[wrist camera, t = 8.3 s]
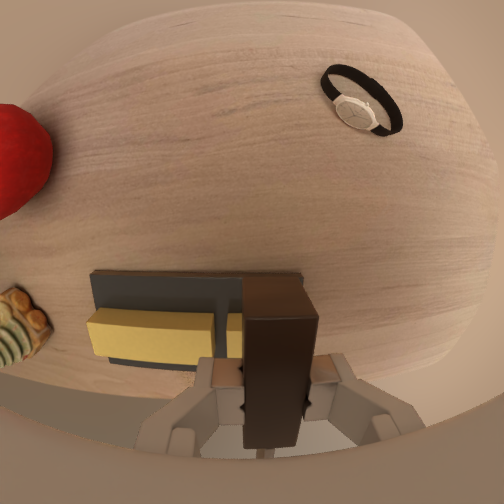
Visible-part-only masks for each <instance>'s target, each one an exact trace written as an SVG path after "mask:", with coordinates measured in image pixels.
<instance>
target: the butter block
mask: <svg viewBox="0 0 504 504" xmlns="http://www.w3.org/2000/svg"><path fill="white" fill-rule="evenodd" d="M86 324H87V328H88V332H89V335H90V339H91V342H92V346H93V349H94V352H95V355H99V356H106V357H113V358H120V359H128V360H137V361H147V362H158V363H171V364H186V365H198V360H199V358H200V357H214V354H215V346H216V345H215V327H214V313H187V312H161V311H142V310H126V309H113V308H99V309H98V310H97V311H96V312H95V313H94V314H93V315H92V316H91V317H90V319H89V320H88V321H87V322H86Z"/></svg>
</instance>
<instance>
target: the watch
mask: <svg viewBox="0 0 504 504" xmlns="http://www.w3.org/2000/svg"><path fill="white" fill-rule="evenodd" d="M328 74H339V75H343V76H345V77H348V78H350V79H351V80H353V81H355V82H356V83H358V84H359V85H360V86H362V87H363V88H364V89H366V90H367V91H368V92H369V93H370V94H371V95H372V96H373V97H374V98H375V99H377V100H378V101H379V102H380V103H381V105H382V106H383V107H384V108H385V110H386V111H387V113H388V115H389V117H390V121H391V131H389V130H387V129H386V128H384V127H383V126H381V125H380V124H379V123H378V122H377V121H376V118H375V115H374V112H373V111H372V109H371V108H370V107H369V105H370V104H369V103H368V102H367V103H364V102H362V101H360V100H359V99H357V98H353V97H348V96H344V95H343V94H341V93H340V92H339V91H338V90H337V89H336V88H335V87H334V86H333V85H332V83H331V82H330V80H329V78H328ZM321 87H322V89H323V91H324V93H325V94H326V95H327V96H328V98H329V99H330V100H332V101H333V104H335V105H336V111H337V113H338V115H339V116H340V118H341V119H342V120H343V121H345V122H346V123H347V124H349V125H350V126H352V127H355V128H358V129H362V130H364V129H367V130H368V131H369V130H370V131H371V132H373V133H374V134H376V135H379V136H382V137H385V136H388V135H392V134H395V133H398V132H400V131H401V129H402V127H403V119H402V115H401V112H400V110H399V108H398V106H397V105H396V103H395V102H394V100H393V99H392V98H391V96H390V95H389V94H388V93H387V91H386V90H385V89H384V88H383V86H381V85H380V84H379V83H378V82H377V81H375V80H374V79H373V78H369V77H368V76H367V75H366V74H364V73H363V72H361V71H359V70H357V69H355V68H353V67H350V66H347V65H341V64H336V65H332V66H330V67H329V68H328V69H327V70H326V72H325V74H324V75H323V76H322V78H321Z"/></svg>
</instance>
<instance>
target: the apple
mask: <svg viewBox="0 0 504 504" xmlns="http://www.w3.org/2000/svg"><path fill="white" fill-rule="evenodd" d="M52 156H53V146H52V142H51V139H50V135H49V134H48V132H47V131H46V130H45V129H44V128H43V127H42V126H41V125H40V124H39V123H38V122H37V120H36V119H35V118H34V117H33V116H32V115H31V114H30V113H29V112H27V111H25V110H23V109H21V108H19V107H17V106H16V105H13V104H0V220H2V219H4V218H5V217H7V216H9V215H11V214H13V213H15V212H17V211H18V210H19V209H20V208H21V207H22V206H23V205H25V204H26V203H27V202H28V201H29V200H30V199H31V198H32V197H33V196H34V195H36V194H37V193H38V192H39V191H40V190H41V189H42V187H43V186H44V184H45V183H46V181H47V179H48V178H49V174H50V170H51V166H52Z"/></svg>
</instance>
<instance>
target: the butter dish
mask: <svg viewBox="0 0 504 504" xmlns="http://www.w3.org/2000/svg"><path fill="white" fill-rule="evenodd" d="M243 277H298V278H299V280H300V282H301V284H302V286H303V279H304V278H303V276H302V274H301V273H193V272H137V271H100V270H95V271H93V272H92V273H91V274H90V281H91V286H92V292H93V297H94V302H95V307H96V311H97V310H98V309H99V308H113V309H126V310H142V311H161V312H187V313H214V327H215V345H216V346H215V354H214V358H215V357H218V358H227V335H226V330H227V318H228V313H242V279H243ZM108 358H109V362H110V363H111V364H118V365H126V366H134V367H143V368H153V369H164V370H177V371H194V372H196V370H197V365H186V364H171V363H158V362H147V361H137V360H128V359H120V358H113V357H108Z"/></svg>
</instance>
